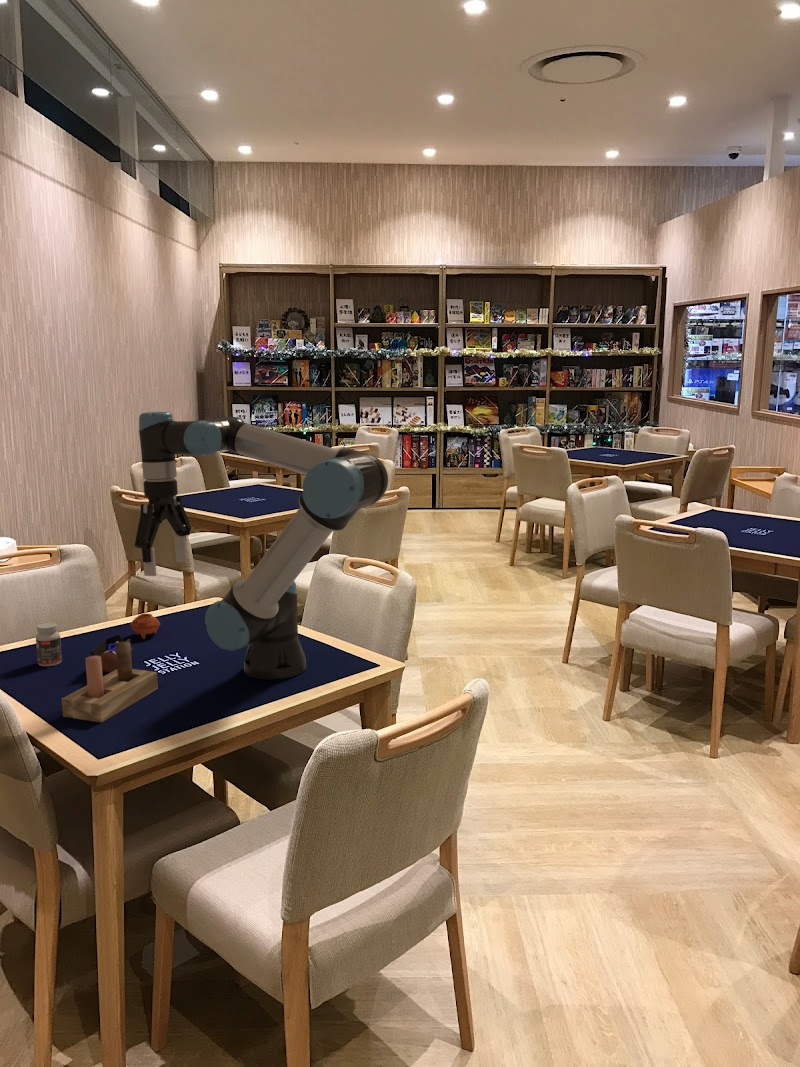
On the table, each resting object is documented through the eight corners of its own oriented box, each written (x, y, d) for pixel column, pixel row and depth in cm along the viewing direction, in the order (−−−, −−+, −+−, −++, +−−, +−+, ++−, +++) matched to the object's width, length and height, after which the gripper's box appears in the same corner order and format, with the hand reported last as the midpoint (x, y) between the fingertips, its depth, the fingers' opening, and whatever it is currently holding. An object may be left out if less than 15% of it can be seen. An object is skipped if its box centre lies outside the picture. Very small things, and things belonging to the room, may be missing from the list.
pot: (123, 638, 234) (124, 613, 234) (142, 636, 241) (143, 612, 241) (147, 640, 231) (148, 615, 231) (165, 638, 238) (166, 614, 238)
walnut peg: (136, 692, 196) (133, 642, 194) (127, 697, 193) (124, 646, 191) (124, 690, 197) (121, 640, 195) (116, 695, 195) (112, 645, 192)
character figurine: (137, 659, 219) (116, 681, 204) (109, 657, 219) (86, 679, 204) (138, 630, 217) (116, 650, 202) (109, 628, 217) (86, 648, 203)
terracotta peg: (108, 708, 187) (104, 656, 185) (98, 714, 184) (94, 661, 182) (96, 707, 188) (91, 655, 186) (86, 712, 185) (82, 659, 183)
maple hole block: (157, 688, 198) (156, 672, 198) (101, 722, 180) (100, 704, 179) (121, 683, 202) (120, 667, 201) (63, 716, 183) (61, 698, 182)
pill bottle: (42, 668, 212) (38, 630, 210) (34, 662, 216) (31, 624, 214) (65, 663, 215) (62, 625, 213) (58, 657, 220) (54, 620, 218)
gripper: (174, 472, 211) (180, 556, 215) (113, 486, 187) (121, 580, 191) (201, 472, 208) (207, 557, 213) (143, 487, 185) (150, 582, 189)
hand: (166, 568), depth 202 cm, fingers open, 13 cm apart
